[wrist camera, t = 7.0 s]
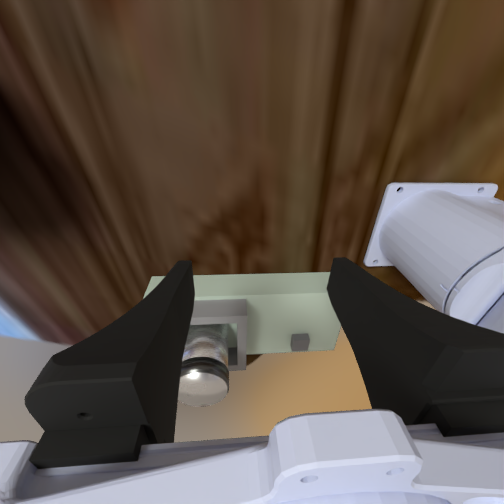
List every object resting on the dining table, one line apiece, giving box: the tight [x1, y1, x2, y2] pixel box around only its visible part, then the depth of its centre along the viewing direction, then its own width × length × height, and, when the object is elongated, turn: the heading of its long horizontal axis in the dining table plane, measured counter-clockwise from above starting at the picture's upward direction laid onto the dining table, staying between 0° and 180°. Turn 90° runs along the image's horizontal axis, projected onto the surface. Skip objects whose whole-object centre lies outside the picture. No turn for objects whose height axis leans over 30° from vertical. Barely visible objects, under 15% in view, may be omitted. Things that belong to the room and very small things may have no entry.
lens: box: [178, 324, 229, 407], centre depth 21 cm, size 4×4×6 cm
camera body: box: [143, 272, 341, 371], centre depth 25 cm, size 18×8×5 cm, turn 88°
